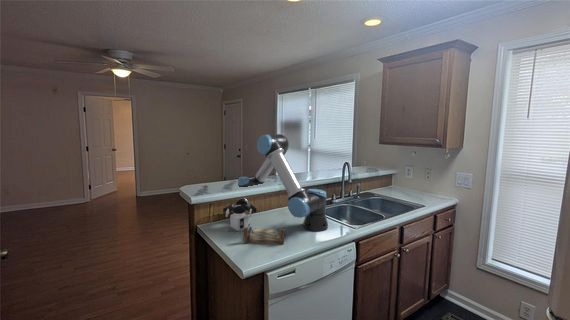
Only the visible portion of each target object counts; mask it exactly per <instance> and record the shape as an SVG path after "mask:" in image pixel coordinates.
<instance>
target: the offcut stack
mask: <svg viewBox="0 0 570 320" xmlns="http://www.w3.org/2000/svg"><path fill="white" fill-rule="evenodd" d="M278 232H279V231H278V229H273V228H272V229H270V228H253V230H252V231H251V232H250V237H249V240H271V241H279V237H280V234H278Z"/></svg>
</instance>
